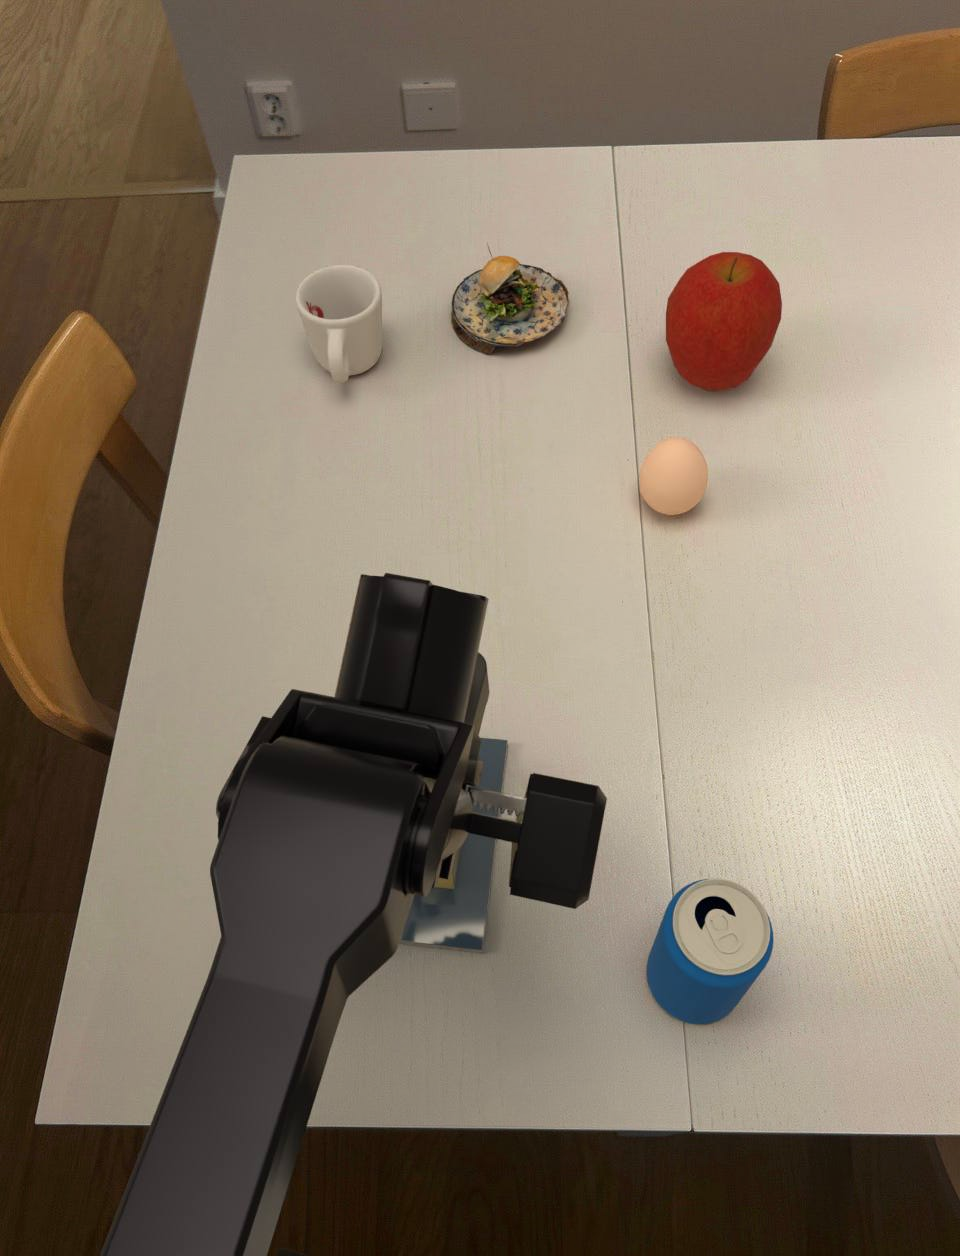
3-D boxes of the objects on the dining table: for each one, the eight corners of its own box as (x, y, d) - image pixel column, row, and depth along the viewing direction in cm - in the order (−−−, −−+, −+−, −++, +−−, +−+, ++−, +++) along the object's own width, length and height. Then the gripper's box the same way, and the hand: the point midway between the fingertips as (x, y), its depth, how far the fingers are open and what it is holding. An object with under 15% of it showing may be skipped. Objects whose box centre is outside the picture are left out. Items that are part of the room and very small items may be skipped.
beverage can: (714, 916, 74) (744, 856, 64) (759, 1005, 71) (798, 957, 61) (629, 949, 73) (646, 894, 63) (671, 1042, 70) (696, 999, 60)
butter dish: (482, 953, 73) (480, 933, 69) (326, 935, 74) (315, 914, 70) (507, 744, 82) (506, 715, 78) (367, 731, 83) (359, 701, 79)
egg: (646, 472, 95) (655, 412, 89) (708, 488, 94) (722, 429, 88) (627, 520, 93) (635, 462, 86) (692, 537, 91) (704, 480, 85)
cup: (386, 407, 101) (376, 343, 94) (302, 408, 101) (286, 345, 94) (392, 328, 106) (383, 262, 100) (313, 329, 107) (299, 264, 100)
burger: (488, 374, 103) (486, 313, 96) (429, 303, 108) (424, 242, 102) (592, 327, 106) (597, 265, 99) (529, 261, 111) (530, 198, 105)
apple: (740, 329, 105) (767, 207, 93) (783, 400, 100) (817, 280, 88) (641, 352, 104) (656, 231, 92) (679, 425, 98) (700, 307, 87)
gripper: (627, 679, 48) (625, 703, 63) (236, 607, 50) (325, 646, 66) (581, 930, 46) (590, 891, 62) (183, 841, 49) (287, 825, 64)
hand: (445, 806), depth 63 cm, fingers open, 9 cm apart
